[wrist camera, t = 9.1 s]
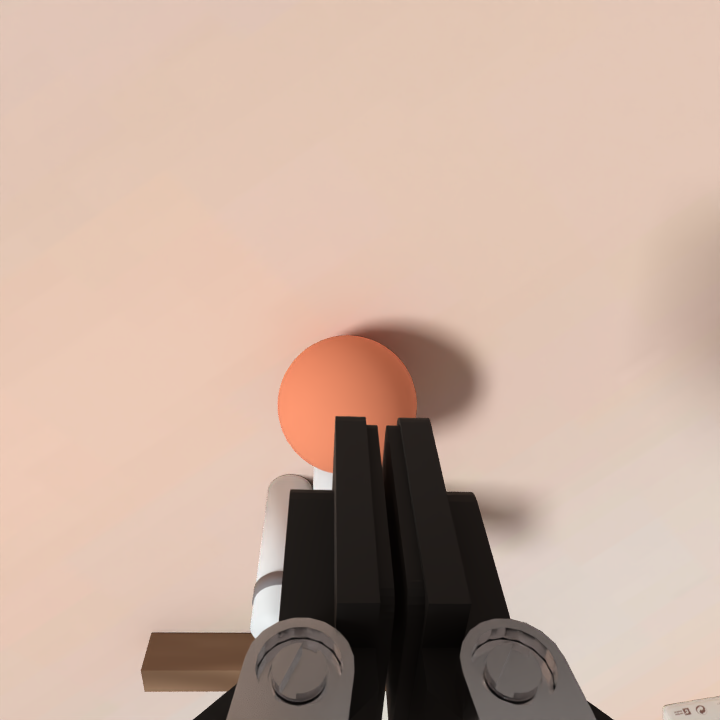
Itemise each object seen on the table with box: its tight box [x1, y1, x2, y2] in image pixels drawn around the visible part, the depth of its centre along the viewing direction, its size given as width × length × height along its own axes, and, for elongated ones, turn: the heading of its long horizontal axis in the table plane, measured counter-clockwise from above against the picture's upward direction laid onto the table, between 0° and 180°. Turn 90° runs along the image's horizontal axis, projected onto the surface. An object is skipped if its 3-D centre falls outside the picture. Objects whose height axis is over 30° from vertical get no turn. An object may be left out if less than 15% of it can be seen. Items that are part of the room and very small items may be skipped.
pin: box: [250, 475, 313, 639], centre depth 30 cm, size 2×2×8 cm
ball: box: [278, 335, 417, 473], centre depth 28 cm, size 6×6×6 cm
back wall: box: [141, 633, 386, 692], centre depth 39 cm, size 2×22×2 cm, turn 87°
